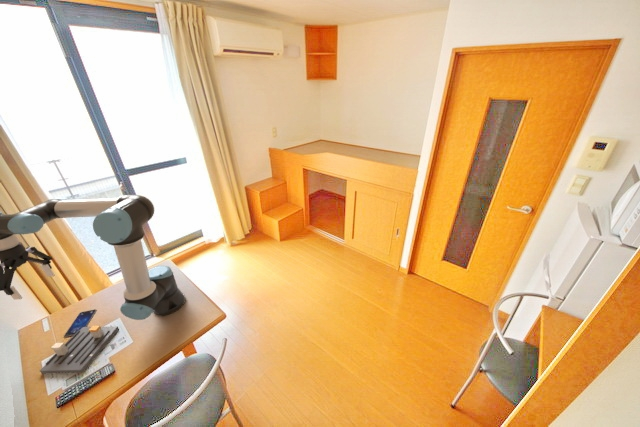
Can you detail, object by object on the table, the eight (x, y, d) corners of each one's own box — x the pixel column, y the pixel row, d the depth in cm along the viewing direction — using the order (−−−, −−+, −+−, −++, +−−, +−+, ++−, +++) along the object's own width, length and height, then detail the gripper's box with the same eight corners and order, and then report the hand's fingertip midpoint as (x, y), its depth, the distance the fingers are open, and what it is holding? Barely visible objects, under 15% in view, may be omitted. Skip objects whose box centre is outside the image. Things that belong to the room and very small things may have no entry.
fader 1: (69, 350, 102) (63, 342, 99) (64, 355, 100) (58, 347, 98) (61, 350, 102) (55, 342, 99) (56, 355, 100) (50, 347, 97)
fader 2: (104, 333, 109) (99, 325, 107) (100, 337, 107) (95, 330, 105) (97, 333, 109) (92, 325, 107) (93, 337, 107) (88, 330, 105)
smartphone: (97, 308, 124) (82, 333, 111) (98, 309, 124) (82, 334, 112) (79, 311, 122) (62, 337, 109) (80, 313, 122) (63, 338, 110)
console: (118, 329, 114) (116, 325, 113) (82, 372, 96) (79, 369, 95) (84, 329, 113) (82, 326, 112) (41, 373, 95) (38, 369, 94)
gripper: (30, 230, 105) (54, 268, 114) (-46, 266, 82) (-8, 310, 92) (47, 229, 105) (70, 267, 114) (-24, 266, 83) (12, 309, 92)
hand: (35, 286), depth 103 cm, fingers open, 13 cm apart
